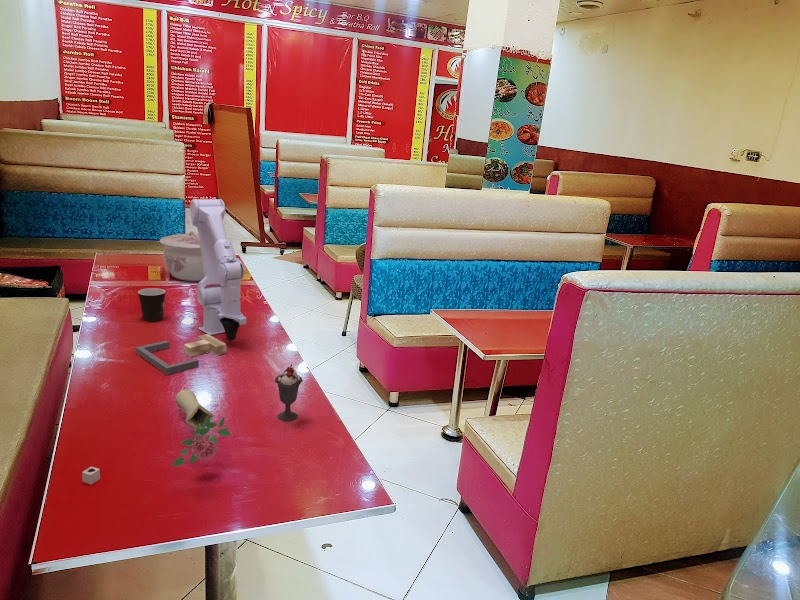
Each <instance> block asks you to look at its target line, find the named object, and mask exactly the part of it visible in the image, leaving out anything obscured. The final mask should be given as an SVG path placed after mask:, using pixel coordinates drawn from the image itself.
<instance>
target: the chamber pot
mask: <svg viewBox="0 0 800 600" xmlns="http://www.w3.org/2000/svg"><path fill="white" fill-rule="evenodd" d="M159 243H160V244H162V245H164V246H165V247H164V249H163V252H162V255H163V261H164V264H165V267H166V268H167V270H168V271H169V273H170V274H171V276H172V277H173V278H174V279H177V280H179V281H185V282H200V281H201V280H202V279H203V278H204V277H205V275H204V268H203V261H202V254H201V247H200V240H199V233H196V232H195V231H190V232H188V233H177V234H173V235H172V234H171V235H167V236H163V237H161V238H160V239H159ZM215 244H216V243H215ZM218 265H219V264H218Z"/></svg>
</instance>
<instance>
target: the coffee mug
mask: <svg viewBox="0 0 800 600" xmlns="http://www.w3.org/2000/svg"><path fill="white" fill-rule="evenodd" d="M137 294H138V299H139V305H140V309H141V316H142V320H144V321H143V322H145V321H148V322H147V323H157V321H159V322H161V321H162V319H163V320H164V311H165V299H166V290H165V289H163V288H156V287H155V288H153V287H151V288H143V289H140V290H138V291H137Z"/></svg>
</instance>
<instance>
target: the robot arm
mask: <svg viewBox="0 0 800 600" xmlns="http://www.w3.org/2000/svg"><path fill="white" fill-rule="evenodd" d="M189 213H190V219H191V220H190V221H191V224H192V226H193V227H195V228H197V231H198V232H197V234H199V240H200V247H201V254H202V261H203V268H204V275H205V277H204V278H203V279H202V280H201V281H198V283H197V285H196V287H197V292H196V296H197V301H198V303H199V305H201V306H202V307H203V309H202V310H203V313H202V315H203V319H202V320H203V325H202V326H199V327H198V330H200V331H201V332H204V333H205V334H209V335H210V336H214V335H218V334H223V333H225V337H226V340H227V341H229V342H230V341H234V340H236V337H237V334H238V330H239V328H240V326H243V325H246V324H247V322H248V321H247V317H246V316H244V314H243V312H241V280H242V279H243V278H244V274H245V273H244V272H245V271H244V270H245V269H244V265H243V262H242V261H241V260H240V258H238V257H237V255H236V253H235V250H234V246H233V243H232V241H230V240H228V238H227V234H226V229H225V225H224V219H225V214H226V205H225V202H224V200H223V199H222V198H218V199H217V198H216V199H215V198H213V199H210V198H208V199H207V198H206V199H203V198H201V199H199V198H197V199H196V198H193V199H192V200H191V201H190V206H189ZM215 243H216V244H215ZM218 264H219V265H218Z"/></svg>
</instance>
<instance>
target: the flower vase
mask: <svg viewBox="0 0 800 600" xmlns="http://www.w3.org/2000/svg"><path fill="white" fill-rule="evenodd" d="M174 403H175V405H176V406H177V407H178V408H179V409H180V410H182V411H183V412H184V413H185V415H186V418H185V420H184V421H185V422H186V423H187V424H188V425H190V426H192V427H193V428H195V430H194V434H193V437H194V438H193V439H192V438H187V439H184V440H182V441H181V442H180V444H181V445H184V446H189V447H188V448H186V447H185V448H183V449H182V450H181V452H180V453H179V455H182V456H183V455H185V457H182V456H180V457H178V458H177V459H176V460H174V461H173V463H172V464H171V467H180V466H182V465H184V464H185V459H186V457H187V455H188V453H189V451H190V449H191V452H192V454H191V455H190V458H189V462H188V463H189V465H191V464H193V463H195V461H197V460H204V461H206V460H210V459H211V458H213V457H215V456H216V455H217V454H218V453H219V448H220V446H218V439H217V436H216V434H214V435H211V433H212V432H211V431H212V430H215V431H213V433H218V435H219V436H221V437H230V436H232V434H231V433H230V432H229V431H228V429H229V428H230V427H231V426H227V427H224V425H225V416H222V418H221V419H220V420H219V423H216V422H215V421H214V422H213V421H212V420H213V419H214V417H215V414H213V413H212V412H211V411H209V409H207V408H206V407H204V406H203V405H202V404H200V403H199V400H198V399H197V396H196V394H195V393H194V391H193V390H190V389H181V391H179V392H177V394H176V396H175V399H174ZM221 427H224V428H221ZM217 428H220V429H219V430H218V429H217ZM208 433H210V436H209V437H208V440H207V441H206V438H205V435H208ZM198 436H199V437H198ZM200 436H202V439H200V438H201V437H200ZM197 437H198V439H197Z"/></svg>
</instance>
